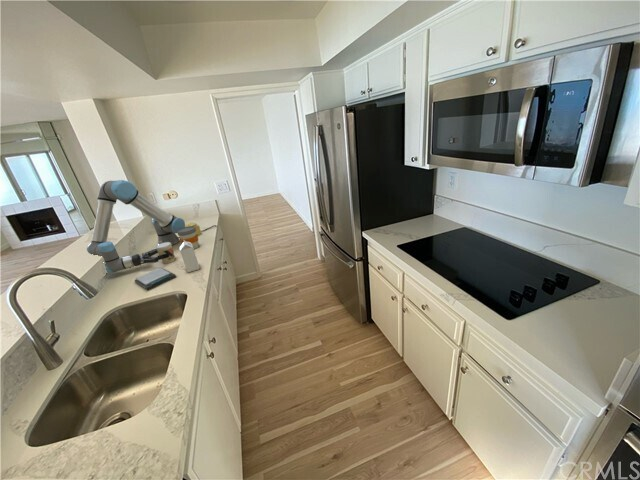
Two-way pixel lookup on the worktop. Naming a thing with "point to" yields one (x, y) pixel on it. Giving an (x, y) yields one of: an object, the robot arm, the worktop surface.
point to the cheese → (195, 227)
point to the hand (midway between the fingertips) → (169, 251)
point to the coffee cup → (166, 251)
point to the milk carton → (189, 256)
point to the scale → (154, 278)
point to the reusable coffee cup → (189, 235)
